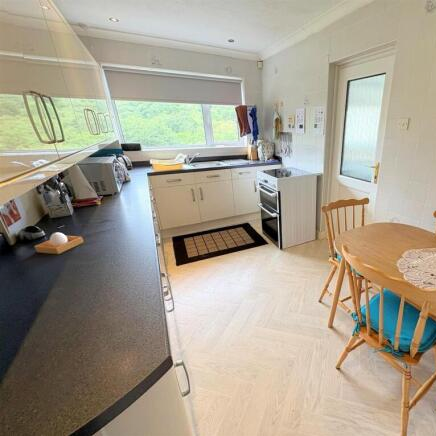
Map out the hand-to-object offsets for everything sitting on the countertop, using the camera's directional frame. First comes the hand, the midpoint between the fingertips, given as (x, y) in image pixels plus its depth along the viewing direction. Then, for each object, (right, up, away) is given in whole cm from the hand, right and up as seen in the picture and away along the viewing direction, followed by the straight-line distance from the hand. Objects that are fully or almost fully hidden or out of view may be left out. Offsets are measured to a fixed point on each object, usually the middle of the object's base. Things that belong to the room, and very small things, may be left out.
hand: (56, 203), depth 110 cm
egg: (-3, -22, +5) cm, 22 cm away
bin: (-3, -22, +5) cm, 23 cm away
